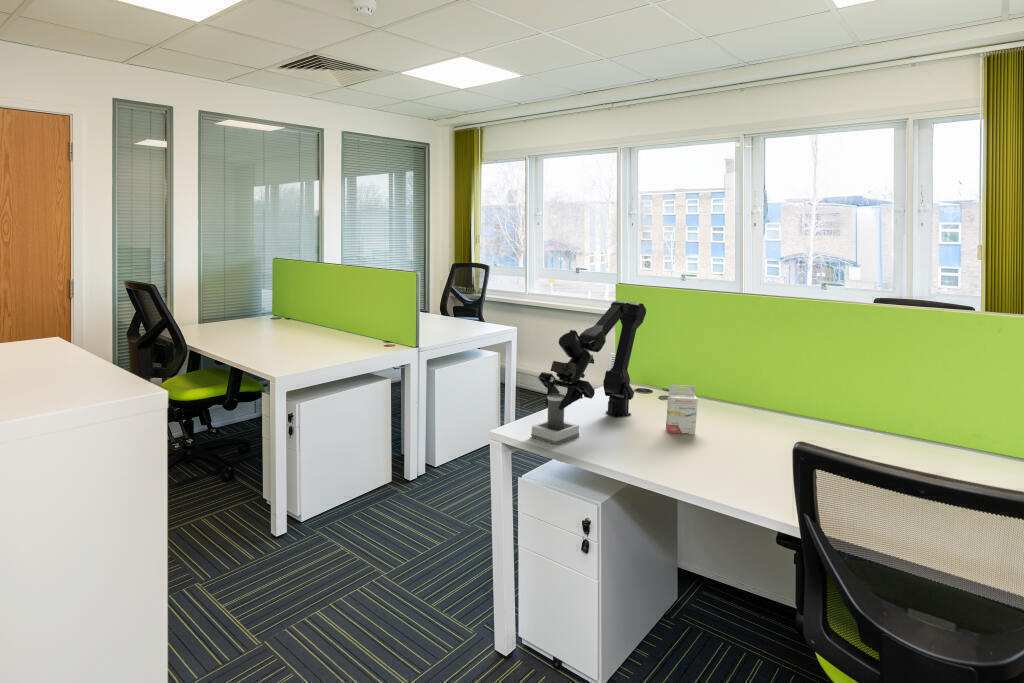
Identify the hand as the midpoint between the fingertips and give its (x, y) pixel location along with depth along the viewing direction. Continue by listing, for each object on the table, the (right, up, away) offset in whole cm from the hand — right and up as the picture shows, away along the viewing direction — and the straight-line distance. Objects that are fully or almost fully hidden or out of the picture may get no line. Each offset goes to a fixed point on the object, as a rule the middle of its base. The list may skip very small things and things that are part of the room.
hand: (553, 407), depth 186 cm
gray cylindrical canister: (+1, -6, +2) cm, 7 cm away
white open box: (+1, -9, +3) cm, 10 cm away
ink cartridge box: (+41, -9, +9) cm, 43 cm away
